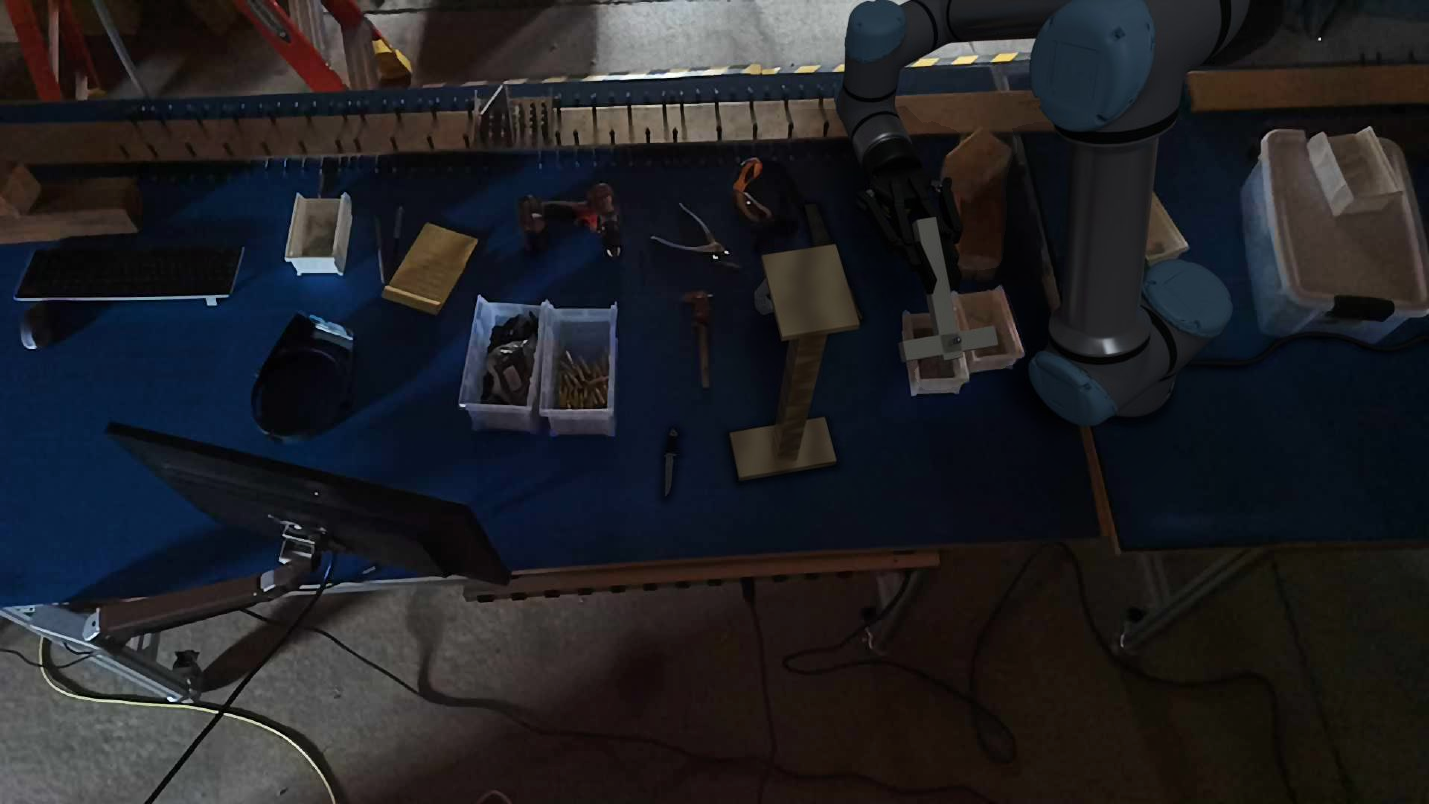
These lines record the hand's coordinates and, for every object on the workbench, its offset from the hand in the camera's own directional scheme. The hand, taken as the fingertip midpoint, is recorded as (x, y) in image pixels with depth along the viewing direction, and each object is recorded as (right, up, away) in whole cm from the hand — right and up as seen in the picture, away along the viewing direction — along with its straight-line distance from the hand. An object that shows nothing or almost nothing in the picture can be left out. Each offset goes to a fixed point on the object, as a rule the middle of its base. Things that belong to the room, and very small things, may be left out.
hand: (944, 284), depth 106 cm
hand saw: (-10, +7, +32) cm, 34 cm away
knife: (-35, -23, +16) cm, 45 cm away
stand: (-19, -20, +18) cm, 33 cm away
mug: (-17, -2, +27) cm, 32 cm away
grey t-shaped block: (0, 0, +4) cm, 4 cm away
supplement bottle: (+2, +18, +37) cm, 41 cm away
